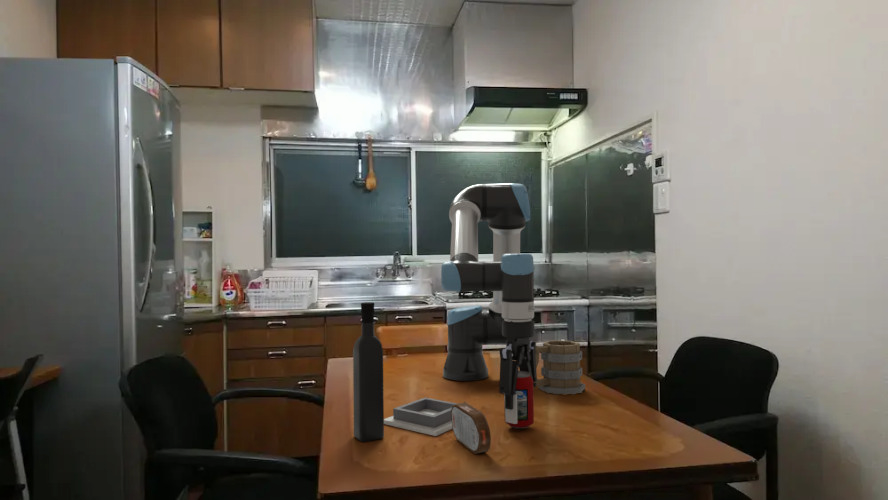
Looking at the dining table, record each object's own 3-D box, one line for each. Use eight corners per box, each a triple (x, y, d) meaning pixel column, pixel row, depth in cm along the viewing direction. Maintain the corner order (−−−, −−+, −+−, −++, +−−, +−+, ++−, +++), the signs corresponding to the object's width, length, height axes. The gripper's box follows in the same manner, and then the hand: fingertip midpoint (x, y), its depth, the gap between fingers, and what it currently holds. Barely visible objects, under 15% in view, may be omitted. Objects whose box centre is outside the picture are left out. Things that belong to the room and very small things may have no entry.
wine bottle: (352, 435, 120) (351, 302, 121) (375, 431, 123) (374, 301, 124) (361, 443, 116) (359, 304, 116) (385, 438, 118) (384, 303, 119)
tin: (492, 457, 107) (492, 415, 107) (478, 460, 105) (477, 417, 106) (461, 435, 121) (461, 397, 121) (448, 436, 119) (448, 399, 119)
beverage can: (498, 425, 124) (498, 373, 124) (515, 418, 129) (515, 368, 129) (522, 431, 120) (522, 378, 120) (539, 424, 125) (538, 372, 125)
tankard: (569, 383, 169) (568, 335, 169) (592, 392, 157) (591, 341, 157) (511, 388, 162) (510, 339, 162) (531, 399, 150) (530, 345, 150)
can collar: (423, 408, 142) (423, 394, 142) (474, 418, 133) (474, 404, 133) (382, 423, 129) (382, 409, 129) (435, 436, 120) (435, 420, 120)
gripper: (511, 325, 114) (513, 433, 114) (550, 316, 130) (552, 410, 130) (481, 323, 119) (483, 426, 119) (523, 314, 135) (524, 405, 135)
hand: (519, 418), depth 124 cm, fingers closed on beverage can, 7 cm apart
